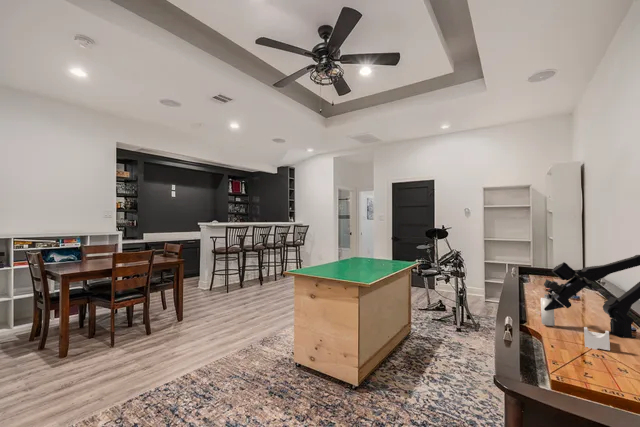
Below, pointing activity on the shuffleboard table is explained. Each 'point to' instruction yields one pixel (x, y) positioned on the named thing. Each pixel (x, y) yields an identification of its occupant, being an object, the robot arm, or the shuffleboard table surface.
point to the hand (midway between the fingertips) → (543, 308)
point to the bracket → (596, 340)
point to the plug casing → (547, 312)
